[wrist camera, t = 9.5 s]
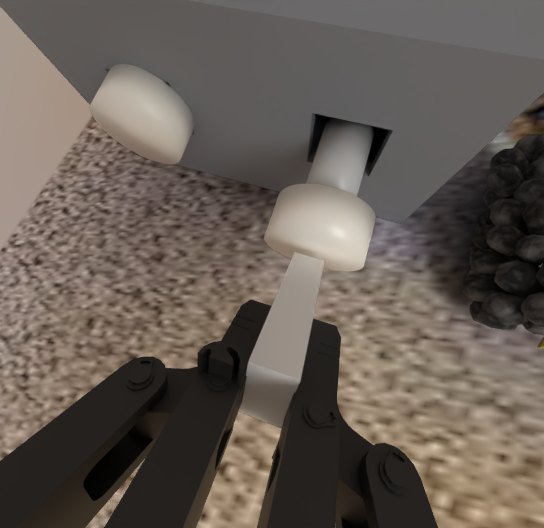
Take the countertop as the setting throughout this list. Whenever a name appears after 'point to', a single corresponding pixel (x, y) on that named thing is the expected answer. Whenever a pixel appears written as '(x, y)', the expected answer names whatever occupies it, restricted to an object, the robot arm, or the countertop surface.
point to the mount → (314, 78)
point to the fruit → (510, 242)
